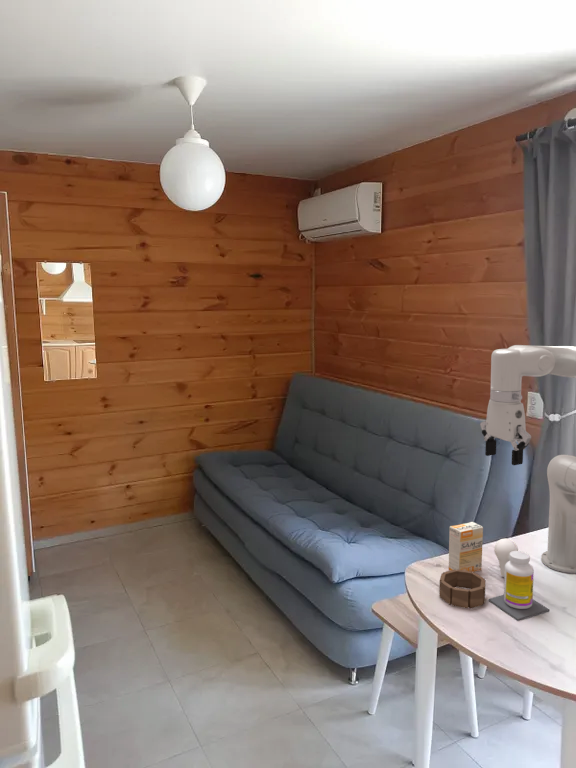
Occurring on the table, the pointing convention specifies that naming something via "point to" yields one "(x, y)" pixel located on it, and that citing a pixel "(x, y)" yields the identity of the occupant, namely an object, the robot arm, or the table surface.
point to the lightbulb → (504, 552)
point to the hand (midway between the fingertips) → (503, 459)
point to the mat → (518, 613)
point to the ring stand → (462, 596)
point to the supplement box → (465, 547)
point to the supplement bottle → (518, 581)
